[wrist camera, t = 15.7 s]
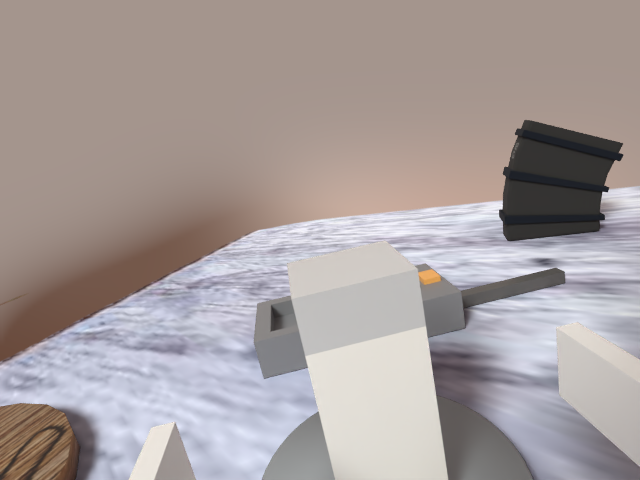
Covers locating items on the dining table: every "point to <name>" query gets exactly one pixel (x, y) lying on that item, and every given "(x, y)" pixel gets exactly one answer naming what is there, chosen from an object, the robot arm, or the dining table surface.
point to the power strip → (438, 303)
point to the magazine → (555, 182)
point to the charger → (369, 363)
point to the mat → (458, 441)
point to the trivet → (36, 444)
